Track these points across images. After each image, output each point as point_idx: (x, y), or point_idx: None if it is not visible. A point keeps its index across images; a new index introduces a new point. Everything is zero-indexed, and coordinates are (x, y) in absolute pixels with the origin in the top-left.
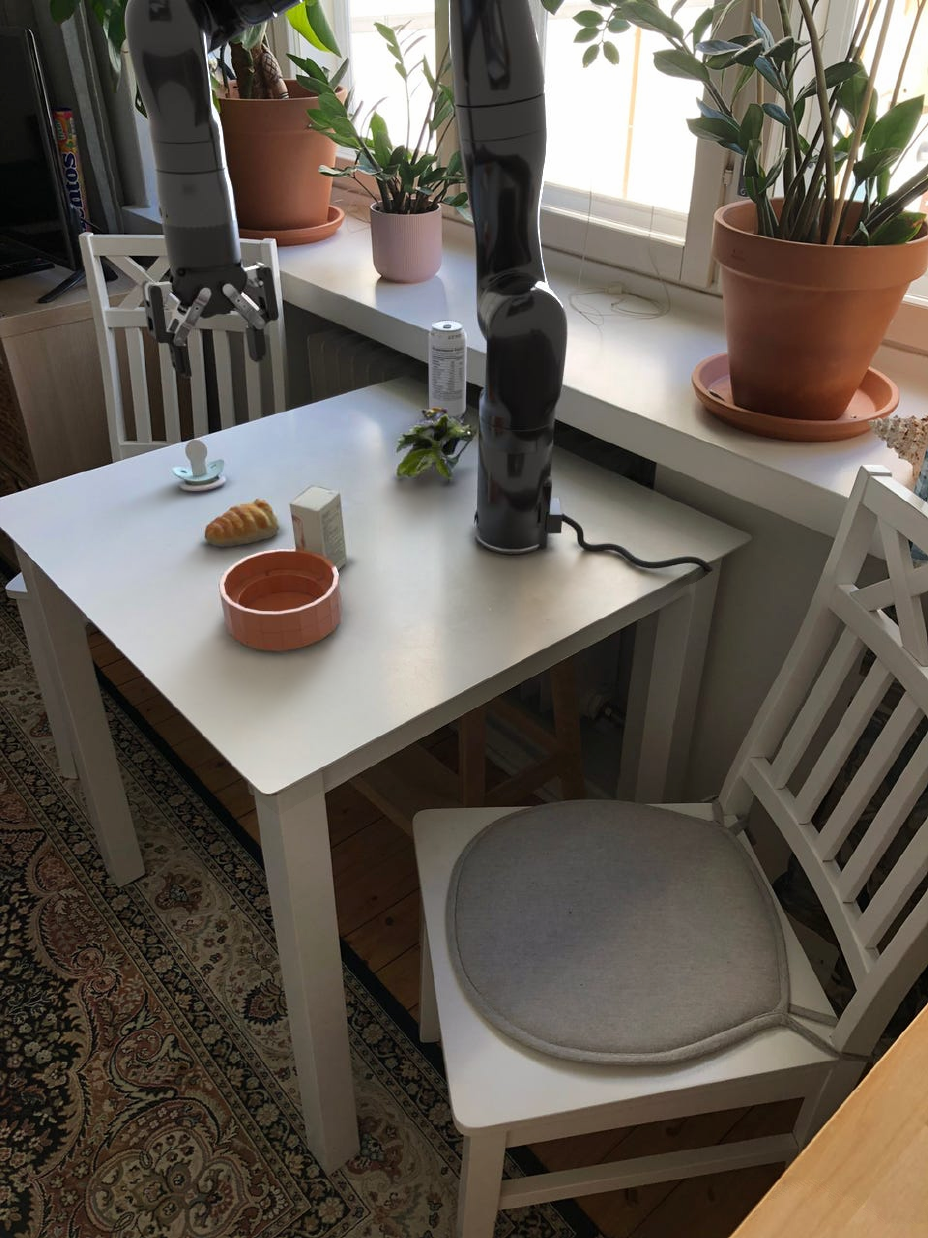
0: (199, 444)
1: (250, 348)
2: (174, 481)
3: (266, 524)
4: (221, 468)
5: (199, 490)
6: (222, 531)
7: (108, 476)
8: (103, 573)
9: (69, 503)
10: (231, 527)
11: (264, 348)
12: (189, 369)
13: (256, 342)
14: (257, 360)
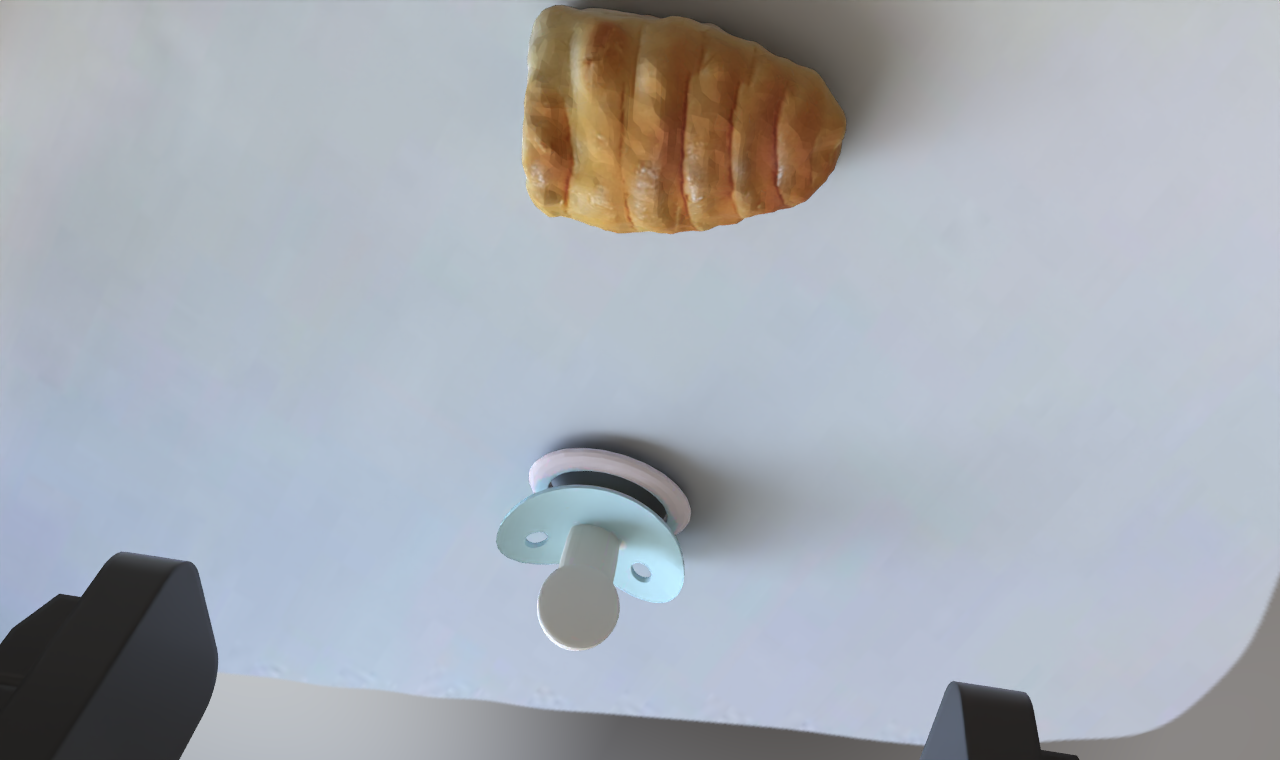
0: (557, 620)
1: (159, 736)
2: None
3: (599, 24)
4: (524, 508)
5: (647, 464)
6: (790, 102)
7: (828, 698)
8: (1274, 221)
9: (1023, 650)
10: (748, 93)
11: (11, 653)
12: (984, 750)
13: (45, 736)
14: (174, 565)
